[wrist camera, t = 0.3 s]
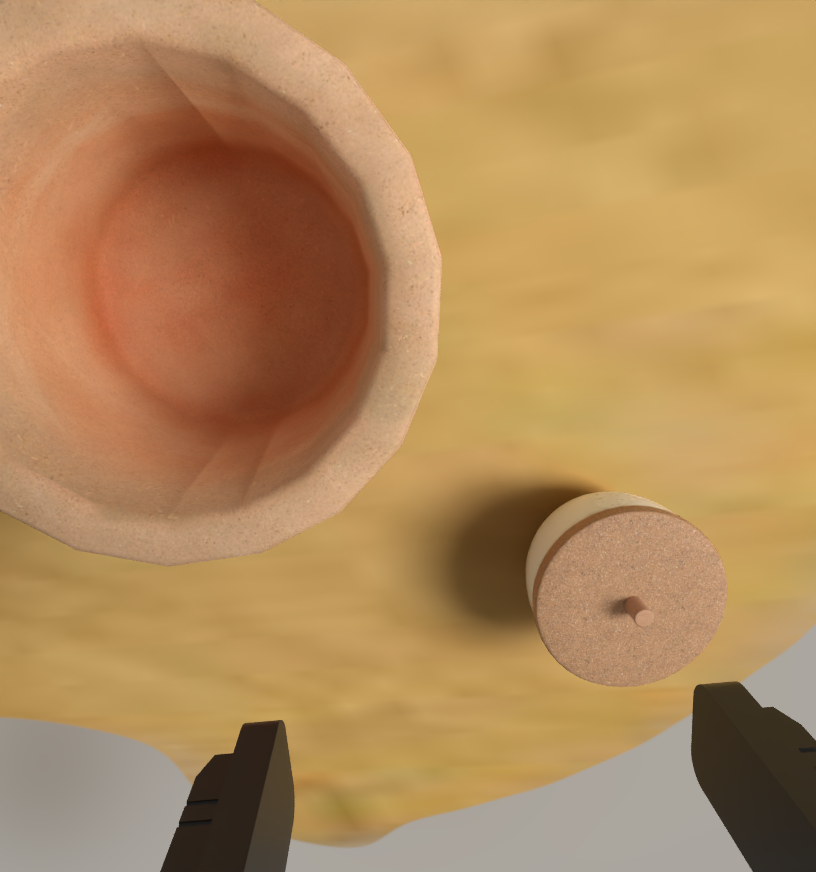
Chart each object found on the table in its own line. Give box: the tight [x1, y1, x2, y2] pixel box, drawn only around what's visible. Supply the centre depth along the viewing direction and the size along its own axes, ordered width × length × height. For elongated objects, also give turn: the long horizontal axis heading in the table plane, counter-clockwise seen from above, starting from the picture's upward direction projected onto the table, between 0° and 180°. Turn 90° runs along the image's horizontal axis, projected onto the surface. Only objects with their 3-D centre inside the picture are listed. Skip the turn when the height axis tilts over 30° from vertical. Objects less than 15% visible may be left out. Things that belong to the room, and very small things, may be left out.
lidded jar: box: [526, 491, 727, 687], centre depth 38 cm, size 11×11×9 cm
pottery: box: [0, 0, 442, 566], centre depth 31 cm, size 22×22×14 cm
